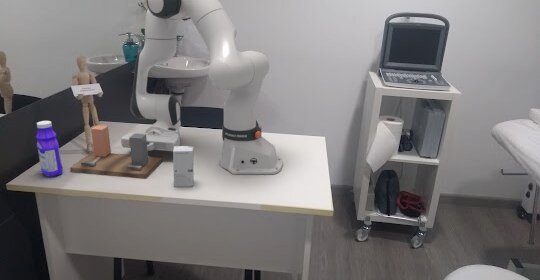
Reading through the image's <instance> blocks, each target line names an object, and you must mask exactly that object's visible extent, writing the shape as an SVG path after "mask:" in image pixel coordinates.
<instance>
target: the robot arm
mask: <svg viewBox="0 0 540 280" xmlns="http://www.w3.org/2000/svg"><path fill="white" fill-rule="evenodd" d="M146 5H147V8H148V9H147V11H146V14H145V18H144V19H145V20H144V21H145V22H144V44H143V45H144V46H143V48H142V50H140V51H139V52H138V53H137V55H136V58H135V59H136V60H135V66H134V75H133V85H132V94H131V97H130V102H129V111H130V113H131V114H132V115H133V116H134V117H135V119H137V120H156V121H155V122H154V123H153V124H151V125H150V126H149V127H148V128H147V129H146V130H145V132H141V131H140V132H138V131H133V132H129V133H127V134H124V135H123V136H122V137H120V142H121V146H122V148H127V149H128V148H129V149H130V139H129V137H131V136H132V135H133V134H135V133H136V134H146V139H147V151H148V152H149V151H153V150H154V151H164V152H166V151H167V152H173V150H174V146H181V133H180V129H181V125H182V124H181V118H182V117H181V116H182V106H181V103H180V101H179V99H178V98H177V97H176V96H175V95H172V94H171V95H170V94H160V93H159V94H158V93H157V94H156V93H149V92H147V86H148V75H149V71H150V70H151V68H153V67H155V66H157V65H161V64H164V63H166V62H169V60H171V59H173V57H175V54H176V53H177V47H178V39H177V38H178V37H177V36H178V35H177V24H178V23H179V22H180V21H181V20H182V21H184V22H186V21H188V20H191V21H192V23H193V24H194V26H195V28H196V30H197V32H198V33H199V35H200V37H201V38H202V40H203V42H204V44H205V46H206V48H207V51H208V55H209V59H210V63H209V67H208V71H207V74H208V78H209V81H210V83H211V85H212V86H213V87H215V89H217V90H220V91H230V92H229V93H228V96H227V97H226V99H225V100H224V103H223V125H222V128H221V138H222V141H223V142H222V150H221V154H220V155H221V156H220V159H219V161H218V162H219V163H218V164H219V166H220V167H221V168H223V169H225V170H228V171H229V173H231V175H232V174H233V175H276V174H278V173H280V171H282V169H283V165H284V164H283V158H282V157H280V156H279V155H277V150H276V147H275V145H274V144H272V143H271V142H270V141H269V140H267V139H266V138H264V137H263V136H262V134H263V133H262V126H261V125H260V127H259V125H257V108H258V107H257V105H258V99H259V96H260V93H261V89H262V85H263V82H264V81H265V78H266V76H267V75H268V73H269V70H270V62H269V59H268V57H267V56H266V55H265V54H264V53H262V52H260V51H255V50H246V51H239V49H238V46H237V43H236V37H237V29H236V27H235V25H234V23H233V22H232V20H231V17H229V14H228V13H227V11H226V10H225V8H224V7H223V5H222V3H221V2H220V0H146Z"/></svg>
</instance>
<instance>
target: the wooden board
mask: <svg viewBox="0 0 540 280" xmlns="http://www.w3.org/2000/svg"><path fill="white" fill-rule="evenodd" d="M162 162H163V157H160V156H159V157H158V156H150V155H148V162H147V163H146V164H145V165H144V166H137V165H132V160H131V154H125V153H115V152H113V153H112V152H111V153H110V154H108V155H107V156H106V157H103V156H95V155H94V151H91V152H90V153H89V154H87V155H86V156H85V157H82V158H81V159H80V160H79V161H77V162H76V163H74V164H73V165H72V166H70V168H69V170H70V172H71V173H79V174H80V173H81V174H92V175H102V176H113V177H125V178H135V179H148V178H149V177H150V175H151V174H152V173H153V172H155V170H156V169H157V167H159V166H160V164H162Z"/></svg>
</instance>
